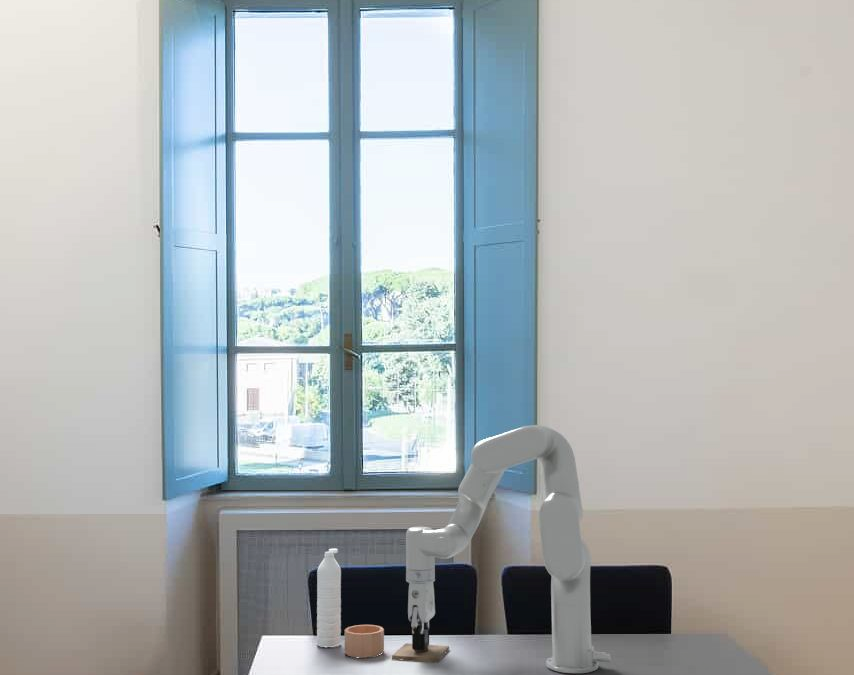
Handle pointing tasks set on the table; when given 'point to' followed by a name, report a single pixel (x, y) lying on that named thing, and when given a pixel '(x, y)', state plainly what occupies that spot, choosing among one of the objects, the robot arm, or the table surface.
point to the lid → (421, 652)
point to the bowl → (364, 641)
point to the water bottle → (329, 601)
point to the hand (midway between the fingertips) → (420, 646)
